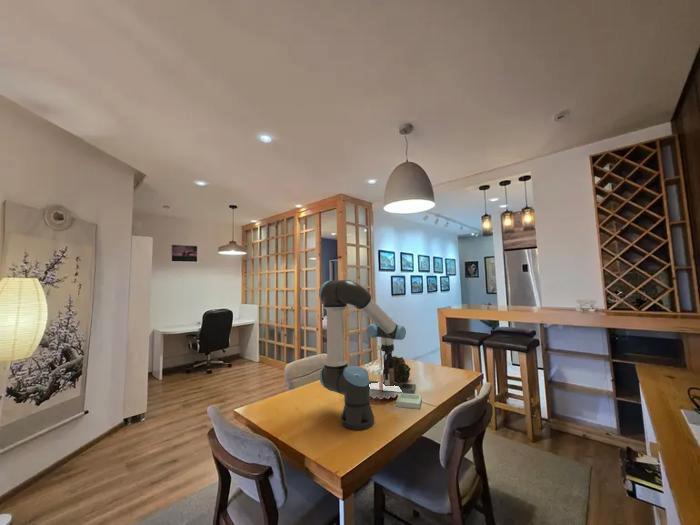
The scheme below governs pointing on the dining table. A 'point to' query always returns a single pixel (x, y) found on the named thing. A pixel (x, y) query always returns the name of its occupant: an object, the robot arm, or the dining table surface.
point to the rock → (400, 370)
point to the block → (391, 377)
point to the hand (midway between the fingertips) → (388, 382)
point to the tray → (409, 401)
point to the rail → (402, 387)
